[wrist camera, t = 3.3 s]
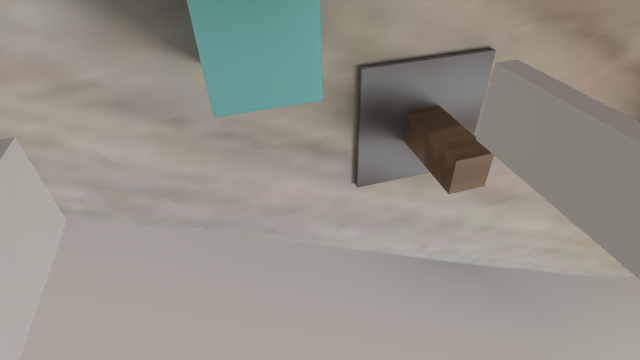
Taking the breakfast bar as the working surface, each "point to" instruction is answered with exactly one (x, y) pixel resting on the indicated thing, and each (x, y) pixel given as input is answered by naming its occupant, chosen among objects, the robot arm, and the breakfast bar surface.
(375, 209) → the breakfast bar surface
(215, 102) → the teal rectangular block
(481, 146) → the grey square base stand
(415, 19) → the breakfast bar surface
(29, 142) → the breakfast bar surface
